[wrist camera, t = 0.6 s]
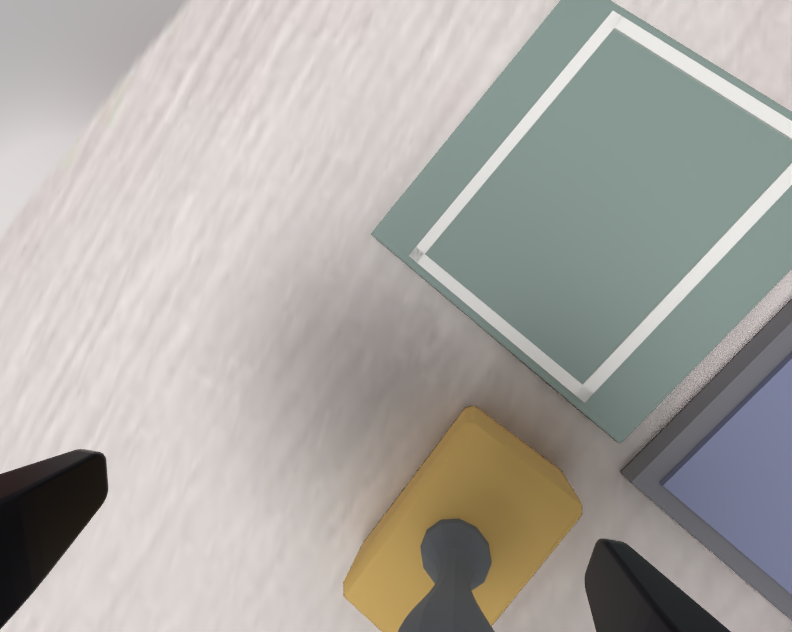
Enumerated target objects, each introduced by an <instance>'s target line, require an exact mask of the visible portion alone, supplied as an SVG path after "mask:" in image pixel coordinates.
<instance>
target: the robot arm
mask: <svg viewBox="0 0 792 632" xmlns="http://www.w3.org/2000/svg"><path fill="white" fill-rule="evenodd" d="M107 493H108V478H107V465H106V457H105V456H104V454H103V453H101V452H97V451H91V450H85V449H78V450H74V451H71V452H68V453H65V454H62V455H58V456H55V457H52V458H49V459H46V460H43V461H40V462H37V463H34V464H30V465H27V466H24V467H21V468H18V469H15V470H12V471H9V472H6V473H2V474H0V629H1V628H2V627H3V626H4V625H5V624H6V623H7V621H8V620H9V619H10V618H11V617H12V616H13V615H14V614H15V613H16V611H17V610H18V609H19V608H20V607H21V606H22V605H23V604H24V602H25V601H26V600H27V599H28V598H29V597H30V596H31V594H32V593H33V592H34V591H35V590H36V588H37V587H38V586H39V585H40V583H41V582H42V581H43V580H44V579H45V577H46V576H47V575H48V574H49V572H50V571H51V570H52V568H53V567H54V566H55V565H56V563H57V562H58V561H59V559H60V558H61V557H62V556H63V554H64V553H65V552H66V551H67V549H68V548H69V547H70V545H71V544H72V543H73V542H74V540H75V539H76V538H77V536H78V535H79V534H80V533H81V531H82V530H83V529H84V527H85V526H86V525H87V524H88V522H89V521H90V520H91V518H92V517H93V516H94V515H95V513H96V512H97V511H98V510H99V508H100V507H101V506H102V504H103V503H104V501H105V499H106V496H107ZM585 588H586V593H587V597H588V601H589V605H590V608H591V612H592V616H593V620H594V624H595V628H596V632H730V631H729V630H728V629H727V628H726V627H725V626H723V625H722V624H721V623H720V622H719V621H717V620H716V619H715V618H714V617H713V616H712V615H710V614H709V613H708V612H707V611H706V610H704V609H703V608H702V607H701V606H700V605H698V604H697V603H696V602H695V601H694V600H693V599H691V598H690V597H689V596H688V595H687V594H685V593H684V592H683V591H682V590H681V589H680V588H678V587H677V586H676V585H675V584H674V583H672V582H671V581H670V580H669V579H668V578H667V577H665V576H664V575H663V574H662V573H661V572H659V571H658V570H657V569H656V568H655V567H654V566H652V565H651V564H650V563H649V562H648V561H646V560H645V559H644V558H643V557H642V556H640V555H639V554H638V553H637V552H636V551H635V550H633V549H632V548H631V547H630V546H629V545H627V544H626V543H624V542H621V541H616V540H610V539H599V540H598V541H597V542H596V544H595V547H594V550H593V553H592V555H591V558H590V561H589V564H588V567H587V570H586V574H585Z"/></svg>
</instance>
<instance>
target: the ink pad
mask: <svg viewBox="0 0 792 632" xmlns="http://www.w3.org/2000/svg"><path fill="white" fill-rule="evenodd" d="M621 473H622V474H623V475H624V476H625V477H626V478H627V479H628V480H629V481H630V482H631V483H632V484H633V485H634V486H636V487H637V488H638V489H639V490H640V491H641V492H643V493H644V494H645V495H646V496H647V497H648V498H650V499H651V500H652V501H653V502H654V503H655V504H657V505H658V506H659V507H660V508H661V509H662V510H664V511H665V512H666V513H667V514H668V515H669V516H671V517H672V518H673V519H674V520H675V521H676V522H678V523H679V524H680V525H681V526H682V527H683V528H685V529H686V530H687V531H688V532H689V533H690V534H692V535H693V536H694V537H695V538H696V539H697V540H699V541H700V542H701V543H702V544H703V545H704V546H706V547H707V548H708V549H709V550H710V551H711V552H713V553H714V554H715V555H716V556H717V557H718V558H719V559H721V560H722V561H723V562H724V563H725V564H726V565H728V566H729V567H730V568H731V569H732V570H733V571H735V572H736V573H737V574H738V575H739V576H740V577H742V578H743V579H744V580H745V581H746V582H747V583H749V584H750V585H751V586H752V587H753V588H754V589H756V590H757V591H758V592H759V593H760V594H761V595H763V596H764V597H765V598H766V599H767V600H768V601H770V602H771V603H772V604H773V605H774V606H775V607H777V608H778V609H779V610H780V611H781V612H782V613H784V614H785V615H786V616H787V617H788V618H789V619H791V620H792V300H791V301H790V302H789V303H788V304H787V305H786V306H785V307H784V308H783V309H782V310H781V311H780V312H779V313H778V314H777V315H776V316H775V317H774V318H773V319H772V320H771V321H770V322H769V323H768V324H767V325H766V326H765V327H764V328H763V329H762V330H761V331H760V332H759V333H758V334H757V335H756V336H755V337H754V338H753V339H752V340H751V341H750V342H749V343H748V344H747V345H746V346H745V347H744V348H743V349H742V350H741V351H740V352H739V353H738V354H737V355H736V356H735V357H734V358H733V359H732V360H731V361H730V362H729V363H728V364H727V365H726V366H725V367H724V368H723V369H722V370H721V371H720V372H719V373H718V374H717V375H716V376H715V377H714V378H713V379H712V380H711V381H710V382H709V383H708V384H707V385H706V386H705V387H704V388H703V389H702V390H701V391H700V392H699V393H698V394H697V395H696V396H695V397H694V398H693V399H692V400H691V401H690V402H689V403H688V404H687V405H686V406H685V408H684V409H683V410H682V411H681V412H680V413H679V414H678V415H677V416H676V417H675V418H674V419H673V420H672V421H671V422H670V423H669V424H668V425H667V426H666V427H665V428H664V429H663V430H662V431H661V432H660V433H659V434H658V435H657V436H656V437H655V438H654V439H653V440H652V441H651V442H650V443H649V444H648V445H647V446H646V447H645V448H644V449H643V450H642V451H641V452H640V453H639V454H638V455H637V456H636V457H635V458H634V459H633V460H632V461H631V462H630V463H629V464H628V465H627V466H626V467H625V468H624V469H623V470H622V471H621Z"/></svg>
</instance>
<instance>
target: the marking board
mask: <svg viewBox="0 0 792 632" xmlns="http://www.w3.org/2000/svg"><path fill="white" fill-rule="evenodd" d="M371 235H372V236H374V237H375V238H376V239H377V240H378V241H380V242H381V243H382V244H383V245H384V246H386V247H387V248H388V249H389V250H390V251H391V252H393V253H394V254H395V255H396V256H397V257H399V258H400V259H401V260H402V261H403V262H405V263H406V264H407V265H408V266H409V267H410V268H412V269H413V270H414V271H415V272H416V273H418V274H419V275H420V276H421V277H422V278H423V279H425V280H426V281H427V282H428V283H429V284H431V285H432V286H433V287H434V288H435V289H437V290H438V291H439V292H440V293H441V294H442V295H444V296H445V297H446V298H447V299H448V300H450V301H451V302H452V303H453V304H454V305H456V306H457V307H458V308H459V309H460V310H461V311H463V312H464V313H465V314H466V315H467V316H469V317H470V318H471V319H472V320H473V321H475V322H476V323H477V324H478V325H479V326H480V327H482V328H483V329H484V330H485V331H486V332H488V333H489V334H490V335H491V336H492V337H493V338H495V339H496V340H497V341H498V342H499V343H501V344H502V345H503V346H504V347H505V348H507V349H508V350H509V351H510V352H511V353H512V354H514V355H515V356H516V357H517V358H518V359H520V360H521V361H522V362H523V363H524V364H526V365H527V366H528V367H529V368H530V369H531V370H533V371H534V372H535V373H536V374H537V375H539V376H540V377H541V378H542V379H543V380H545V381H546V382H547V383H548V384H549V385H550V386H552V387H553V388H554V389H555V390H556V391H558V392H559V393H560V394H561V395H562V396H563V397H565V398H566V399H567V400H568V401H569V402H571V403H572V404H573V405H574V406H575V407H577V408H578V409H579V410H580V411H581V412H582V413H584V414H585V415H586V416H587V417H588V418H590V419H591V420H592V421H593V422H594V423H596V424H597V425H598V426H599V427H600V428H601V429H603V430H604V431H605V432H606V433H607V434H609V435H610V436H611V437H612V438H613V439H614V440H616V441H617V442H618V443H619V444H621V443H622V442H623V441H624V440H625V439H626V438H627V436H628V435H629V434H630V433H631V432H632V431H633V430H634V429H635V428H636V427H637V426H638V425H639V424H640V423H641V422H642V421H643V420H644V419H645V418H646V417H647V416H648V415H649V414H650V413H651V412H652V411H653V410H654V409H655V408H656V407H657V406H658V405H659V404H660V403H661V402H662V401H663V400H664V399H665V398H666V397H667V396H668V395H669V394H670V393H671V392H672V391H673V390H674V389H675V388H676V386H677V385H678V384H679V383H680V382H681V381H682V380H683V379H684V378H685V377H686V376H687V375H688V374H689V373H690V372H691V371H692V370H693V369H694V368H695V367H696V366H697V365H698V364H699V363H700V362H701V361H702V360H703V359H704V358H705V357H706V356H707V355H708V354H709V353H710V352H711V351H712V350H713V349H714V348H715V347H716V346H717V345H718V344H719V343H720V342H721V341H722V340H723V339H724V338H725V336H726V335H727V334H728V333H729V332H730V331H731V330H732V329H733V328H734V327H735V326H736V325H737V324H738V323H739V322H740V321H741V320H742V319H743V318H744V317H745V316H746V315H747V314H748V313H749V312H750V311H751V310H752V309H753V308H754V307H755V306H756V305H757V304H758V303H759V302H760V301H761V300H762V299H763V298H764V297H765V296H766V295H767V294H768V293H769V292H770V291H771V290H772V289H773V288H774V286H775V285H776V284H777V283H778V282H779V281H780V280H781V279H782V278H783V277H784V276H785V275H786V274H787V273H788V272H789V271H790V270H791V269H792V112H791V111H790V110H788V109H786V108H785V107H783V106H781V105H780V104H778V103H777V102H775V101H773V100H772V99H770V98H768V97H767V96H765V95H764V94H762V93H760V92H759V91H757V90H755V89H754V88H752V87H751V86H749V85H747V84H746V83H744V82H742V81H741V80H739V79H738V78H736V77H734V76H733V75H731V74H729V73H728V72H726V71H724V70H723V69H721V68H720V67H718V66H716V65H715V64H713V63H711V62H710V61H708V60H707V59H705V58H703V57H702V56H700V55H698V54H697V53H695V52H694V51H692V50H690V49H689V48H687V47H685V46H684V45H682V44H680V43H679V42H677V41H676V40H674V39H672V38H671V37H669V36H667V35H666V34H664V33H663V32H661V31H659V30H658V29H656V28H654V27H653V26H651V25H650V24H648V23H646V22H645V21H643V20H641V19H640V18H638V17H637V16H635V15H633V14H632V13H630V12H628V11H627V10H625V9H623V8H622V7H620V6H619V5H617V4H615V3H614V2H612V1H610V0H561V1H560V2H559V3H558V4H557V6H556V7H555V8H554V9H553V10H552V12H551V13H550V14H549V15H548V17H547V18H546V19H545V20H544V22H543V23H542V24H541V25H540V26H539V28H538V29H537V30H536V31H535V33H534V34H533V35H532V36H531V38H530V39H529V40H528V41H527V42H526V44H525V45H524V46H523V47H522V49H521V50H520V51H519V52H518V54H517V55H516V56H515V57H514V58H513V60H512V61H511V62H510V63H509V65H508V66H507V67H506V68H505V70H504V71H503V72H502V73H501V74H500V76H499V77H498V78H497V79H496V81H495V82H494V83H493V84H492V86H491V87H490V88H489V89H488V90H487V92H486V93H485V94H484V95H483V97H482V98H481V99H480V100H479V101H478V103H477V104H476V105H475V106H474V108H473V109H472V110H471V111H470V113H469V114H468V115H467V116H466V117H465V119H464V120H463V121H462V122H461V124H460V125H459V126H458V127H457V129H456V130H455V131H454V132H453V133H452V135H451V136H450V137H449V138H448V140H447V141H446V142H445V143H444V145H443V146H442V147H441V148H440V149H439V151H438V152H437V153H436V154H435V156H434V157H433V158H432V159H431V161H430V162H429V163H428V164H427V165H426V167H425V168H424V169H423V170H422V172H421V173H420V174H419V175H418V177H417V178H416V179H415V180H414V181H413V183H412V184H411V185H410V186H409V188H408V189H407V190H406V191H405V193H404V194H403V195H402V196H401V197H400V199H399V200H398V201H397V202H396V204H395V205H394V206H393V207H392V209H391V210H390V211H389V212H388V213H387V215H386V216H385V217H384V218H383V220H382V221H381V222H380V223H379V225H378V226H377V227H376V228H375V229H374V231H373V232H372V233H371Z"/></svg>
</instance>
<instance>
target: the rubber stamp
mask: <svg viewBox="0 0 792 632" xmlns="http://www.w3.org/2000/svg"><path fill="white" fill-rule="evenodd" d="M581 515H582V505H581V503H580V500H579V498H578V496H577V495H576V493H575V492H574V490H573V489H572V487H571V485H570V484H569V482H568V481H567V479H566V477H565V476H564V474H563V473H562V471H561V470H559V469H558V468H557V467H556V466H554V465H553V464H552V463H550V462H549V461H548V460H546V459H545V458H544V457H542V456H541V455H540V454H538V453H537V452H536V451H534V450H533V449H532V448H530V447H529V446H528V445H526V444H525V443H524V442H522V441H521V440H520V439H518V438H517V437H516V436H514V435H513V434H512V433H510V432H509V431H508V430H506V429H505V428H504V427H502V426H501V425H500V424H498V423H497V422H496V421H494V420H493V419H492V418H490V417H489V416H488V415H486V414H485V413H484V412H482V411H481V410H480V409H479V408H477V407H476V406H470V407H466V408H465V409H464V410H463V411H462V413H461V414H460V415H459V417H458V418H457V419H456V421H455V422H454V423H453V425H452V426H451V427H450V429H449V430H448V431H447V433H446V434H445V435H444V437H443V438H442V439H441V441H440V442H439V443H438V445H437V446H436V447H435V448H434V450H433V451H432V452H431V454H430V455H429V456H428V458H427V459H426V460H425V462H424V463H423V464H422V466H421V467H420V468H419V470H418V471H417V472H416V474H415V475H414V476H413V478H412V479H411V480H410V482H409V483H408V484H407V486H406V487H405V488H404V490H403V491H402V492H401V494H400V495H399V496H398V498H397V499H396V500H395V502H394V503H393V504H392V506H391V507H390V508H389V510H388V511H387V512H386V514H385V515H384V516H383V518H382V519H381V520H380V522H379V523H378V524H377V526H376V527H375V528H374V530H373V531H372V532H371V534H370V535H369V536H368V538H367V539H366V540H365V541H364V543H363V544H362V546H361V548H360V550H359V552H358V554H357V556H356V558H355V560H354V562H353V564H352V566H351V568H350V570H349V572H348V574H347V576H346V578H345V580H344V582H343V592H344V597H345V598H346V599H347V600H348V601H349V602H350V603H351V604H353V605H354V606H355V607H356V608H357V609H358V610H359V611H360V612H361V613H362V614H363V615H364V616H366V617H367V618H368V619H369V620H370V621H371V622H372V623H373V624H374V625H375V626H376V627H377V628H378V629H380V630H381V631H382V632H494V630H493V629H492V627H491V626H492V625H493V624H494V622H495V621H496V620H497V619H498V618H499V616H500V615H501V614H502V613H503V611H504V610H505V609H506V608H507V607H508V605H509V604H510V603H511V602H512V600H513V599H514V598H515V597H516V596H517V594H518V593H519V592H520V591H521V589H522V588H523V587H524V586H525V585H526V583H527V582H528V581H529V580H530V578H531V577H532V576H533V575H534V573H535V572H536V571H537V570H538V569H539V567H540V566H541V565H542V564H543V562H544V561H545V560H546V559H547V558H548V556H549V555H550V554H551V553H552V551H553V550H554V549H555V548H556V547H557V545H558V544H559V543H560V542H561V540H562V539H563V538H564V537H565V535H566V534H567V533H568V532H569V531H570V529H571V528H572V527H573V526H574V524H575V523H576V522H577V521H578V520H579V518H580V517H581Z"/></svg>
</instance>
